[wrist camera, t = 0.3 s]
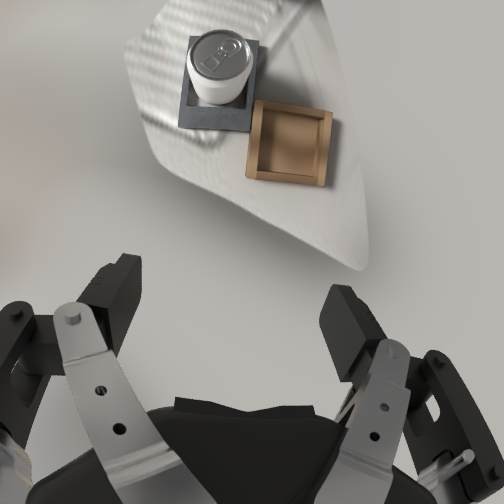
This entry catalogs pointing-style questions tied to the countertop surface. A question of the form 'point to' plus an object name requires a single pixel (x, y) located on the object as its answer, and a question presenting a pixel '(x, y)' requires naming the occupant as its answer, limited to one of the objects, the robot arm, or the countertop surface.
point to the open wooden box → (288, 143)
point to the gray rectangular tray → (215, 115)
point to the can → (219, 66)
